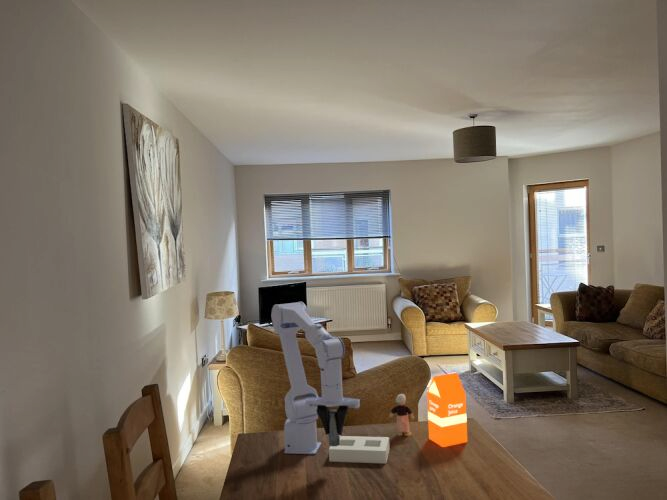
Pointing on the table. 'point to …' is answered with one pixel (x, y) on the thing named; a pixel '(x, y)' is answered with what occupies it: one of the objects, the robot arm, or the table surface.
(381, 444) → the hole block
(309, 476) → the table surface
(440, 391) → the orange juice
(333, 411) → the peg
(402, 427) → the grandmother figurine
